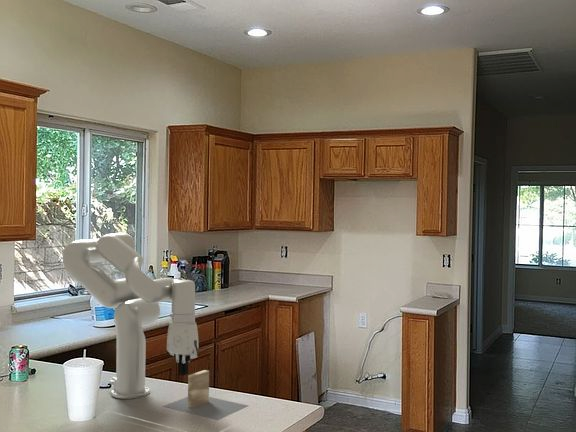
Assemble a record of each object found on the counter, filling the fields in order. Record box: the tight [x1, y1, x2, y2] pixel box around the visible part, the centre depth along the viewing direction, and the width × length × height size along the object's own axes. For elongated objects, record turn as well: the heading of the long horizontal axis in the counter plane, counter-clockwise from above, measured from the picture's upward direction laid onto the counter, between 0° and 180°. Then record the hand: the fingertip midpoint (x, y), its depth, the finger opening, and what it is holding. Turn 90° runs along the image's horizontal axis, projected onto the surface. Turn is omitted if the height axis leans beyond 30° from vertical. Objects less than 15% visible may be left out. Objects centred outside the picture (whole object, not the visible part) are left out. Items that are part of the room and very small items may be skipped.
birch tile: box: [187, 369, 210, 408], centre depth 201 cm, size 2×8×10 cm, turn 149°
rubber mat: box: [162, 396, 249, 421], centre depth 200 cm, size 22×16×1 cm
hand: (183, 374), depth 205 cm, fingers closed
